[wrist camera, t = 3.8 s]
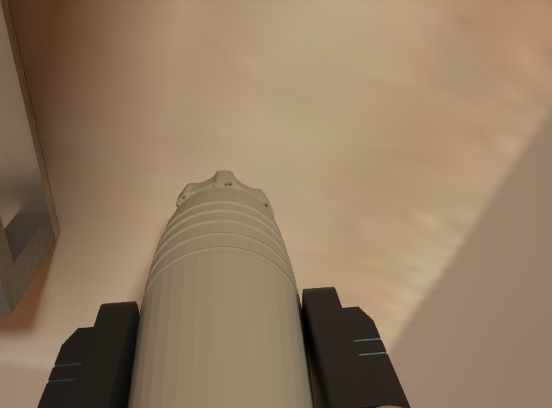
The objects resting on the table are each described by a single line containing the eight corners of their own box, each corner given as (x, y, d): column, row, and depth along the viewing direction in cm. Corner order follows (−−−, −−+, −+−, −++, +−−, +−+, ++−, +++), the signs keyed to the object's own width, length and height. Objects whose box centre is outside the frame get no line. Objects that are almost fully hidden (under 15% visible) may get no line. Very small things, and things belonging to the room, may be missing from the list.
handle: (201, 302, 19) (146, 1115, 6) (112, 158, 16) (-401, 1101, 3) (319, 255, 19) (559, 1017, 5) (249, 98, 16) (390, 886, 2)
